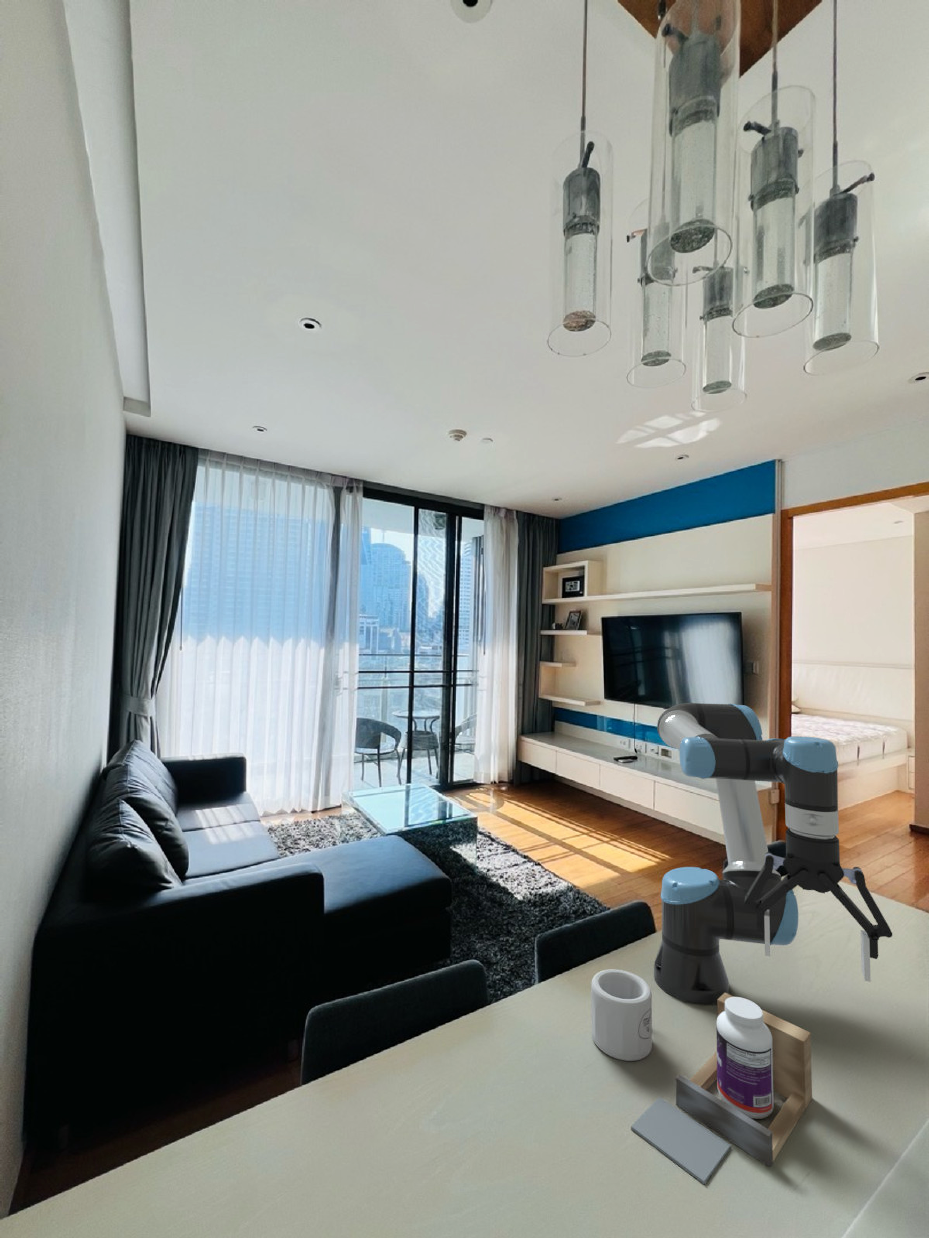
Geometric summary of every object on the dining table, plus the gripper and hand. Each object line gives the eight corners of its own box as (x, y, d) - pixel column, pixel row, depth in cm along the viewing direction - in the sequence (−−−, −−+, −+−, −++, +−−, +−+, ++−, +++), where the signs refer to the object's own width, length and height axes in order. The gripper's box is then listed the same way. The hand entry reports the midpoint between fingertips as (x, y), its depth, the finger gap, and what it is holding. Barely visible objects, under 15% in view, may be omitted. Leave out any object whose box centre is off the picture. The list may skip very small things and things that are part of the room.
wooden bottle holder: (676, 1104, 84) (675, 1037, 85) (725, 1050, 96) (725, 992, 97) (769, 1167, 74) (768, 1090, 75) (812, 1097, 86) (810, 1032, 87)
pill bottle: (724, 1073, 91) (722, 985, 92) (778, 1099, 86) (776, 1005, 87) (711, 1103, 85) (709, 1008, 86) (768, 1132, 80) (766, 1031, 81)
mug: (635, 1072, 91) (634, 1011, 91) (580, 1040, 98) (580, 983, 99) (668, 1033, 100) (667, 978, 101) (615, 1007, 108) (615, 955, 109)
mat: (630, 1128, 80) (630, 1126, 80) (659, 1099, 85) (659, 1096, 85) (704, 1184, 71) (704, 1181, 72) (730, 1147, 77) (730, 1144, 77)
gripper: (727, 825, 92) (729, 952, 90) (912, 853, 80) (918, 1001, 78) (729, 814, 98) (731, 933, 97) (901, 839, 86) (906, 975, 85)
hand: (815, 964), depth 88 cm, fingers open, 13 cm apart
